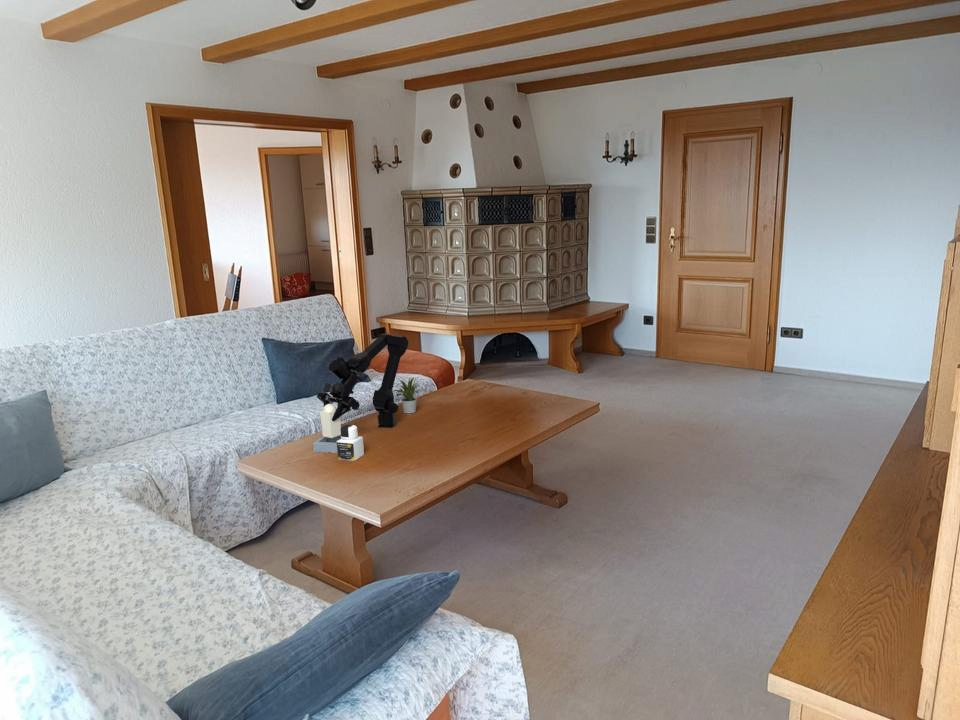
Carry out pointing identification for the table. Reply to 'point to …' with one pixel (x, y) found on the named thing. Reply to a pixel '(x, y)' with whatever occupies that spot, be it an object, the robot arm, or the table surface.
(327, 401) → the robot arm
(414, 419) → the table surface
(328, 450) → the blue square ring
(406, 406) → the house plant
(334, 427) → the cream egg block
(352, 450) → the medicine bottle
